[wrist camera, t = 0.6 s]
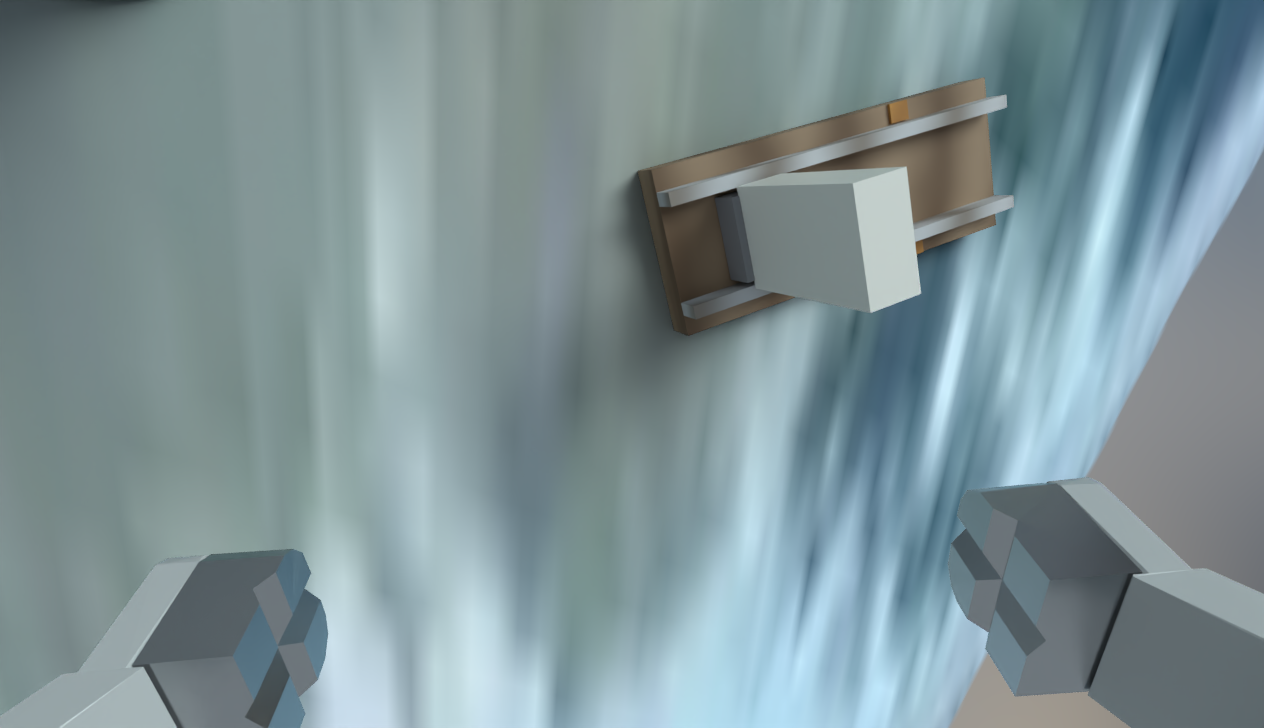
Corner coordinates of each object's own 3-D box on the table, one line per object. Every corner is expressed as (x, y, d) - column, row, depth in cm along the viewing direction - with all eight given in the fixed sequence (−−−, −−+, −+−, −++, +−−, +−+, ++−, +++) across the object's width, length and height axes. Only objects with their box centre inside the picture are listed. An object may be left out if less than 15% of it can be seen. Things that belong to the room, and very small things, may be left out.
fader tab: (732, 287, 44) (862, 316, 33) (712, 189, 42) (843, 186, 31) (786, 268, 45) (929, 290, 34) (770, 172, 43) (915, 164, 32)
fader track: (674, 330, 45) (700, 340, 42) (637, 170, 42) (663, 168, 39) (973, 224, 53) (1015, 225, 49) (960, 82, 50) (1004, 73, 46)
